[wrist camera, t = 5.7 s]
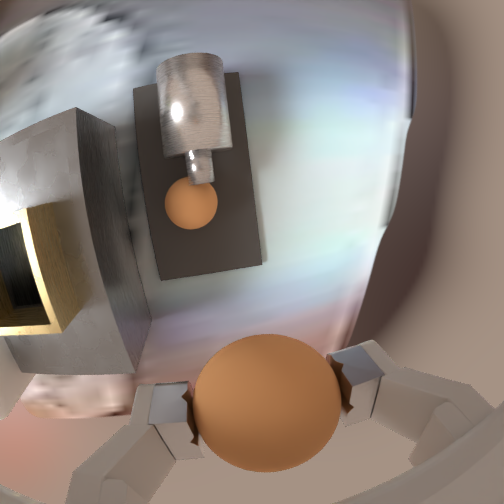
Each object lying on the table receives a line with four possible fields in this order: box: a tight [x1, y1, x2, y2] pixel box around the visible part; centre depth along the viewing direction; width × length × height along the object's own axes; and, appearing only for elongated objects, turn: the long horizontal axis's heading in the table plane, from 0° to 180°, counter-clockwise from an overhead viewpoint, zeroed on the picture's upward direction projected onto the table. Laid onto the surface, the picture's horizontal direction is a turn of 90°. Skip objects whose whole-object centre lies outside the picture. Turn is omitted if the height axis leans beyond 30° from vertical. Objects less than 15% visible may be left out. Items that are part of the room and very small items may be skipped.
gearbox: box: [0, 107, 152, 375], centre depth 16 cm, size 18×12×11 cm, turn 7°
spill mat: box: [133, 72, 262, 281], centre depth 22 cm, size 17×9×1 cm, turn 7°
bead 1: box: [165, 177, 218, 229], centre depth 20 cm, size 4×4×4 cm
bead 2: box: [192, 334, 342, 472], centre depth 7 cm, size 4×4×4 cm
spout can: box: [156, 53, 233, 186], centre depth 18 cm, size 9×5×5 cm, turn 7°
